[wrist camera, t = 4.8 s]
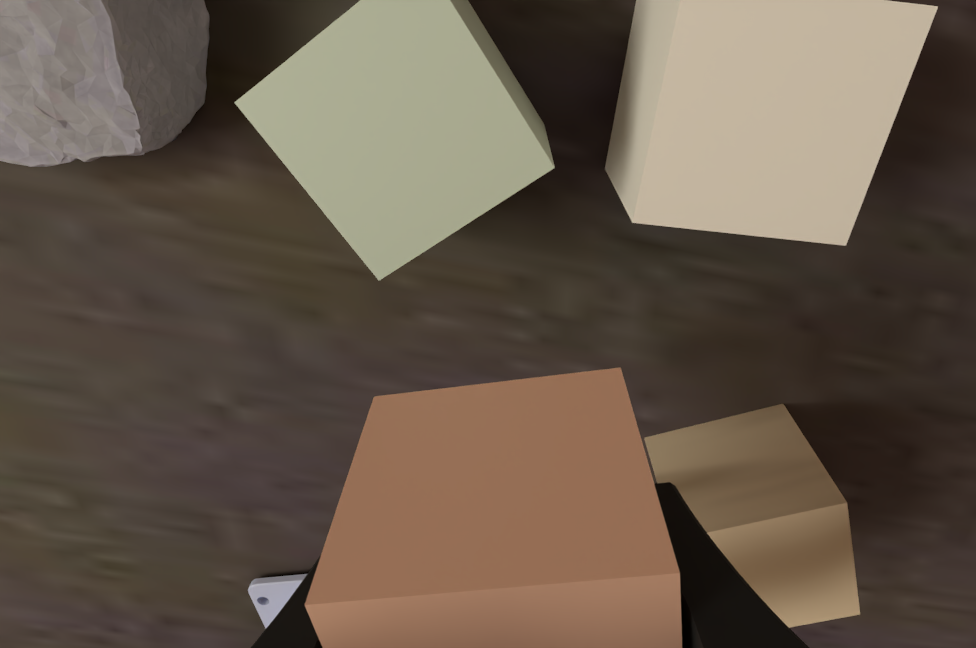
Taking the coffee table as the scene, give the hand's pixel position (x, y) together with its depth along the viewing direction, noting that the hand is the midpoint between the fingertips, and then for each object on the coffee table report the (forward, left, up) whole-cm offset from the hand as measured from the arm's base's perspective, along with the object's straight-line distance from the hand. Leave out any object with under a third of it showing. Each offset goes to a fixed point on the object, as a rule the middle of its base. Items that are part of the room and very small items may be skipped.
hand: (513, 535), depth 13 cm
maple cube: (-8, -7, -10) cm, 15 cm away
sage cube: (+7, +1, -10) cm, 12 cm away
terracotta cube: (0, 0, -2) cm, 2 cm away
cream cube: (+6, -7, -10) cm, 13 cm away
